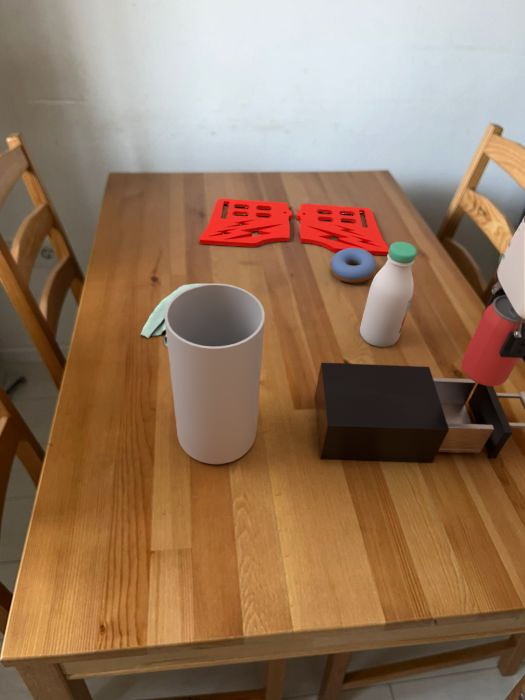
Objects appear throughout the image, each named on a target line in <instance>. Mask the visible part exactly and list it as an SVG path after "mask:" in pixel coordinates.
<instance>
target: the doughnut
mask: <svg viewBox="0 0 525 700" xmlns="http://www.w3.org/2000/svg"><path fill="white" fill-rule="evenodd" d="M330 270H331V272H332V274H333V276H334V277H335V278H337V279H338V280H340V281H342V282H345V283H348V284H359V283H364V282H366V281H367V280H370V279H371V278H372V277H373V276H374V275H375V272H376V270H377V262H376V258H375V257H374V255H372V254H370V253H369V252H367V251H365V250H363V249H358V248H348V249H343V250H341V251H339V252H335V254H334V255H333V256H332V258H331V262H330Z"/></svg>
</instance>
